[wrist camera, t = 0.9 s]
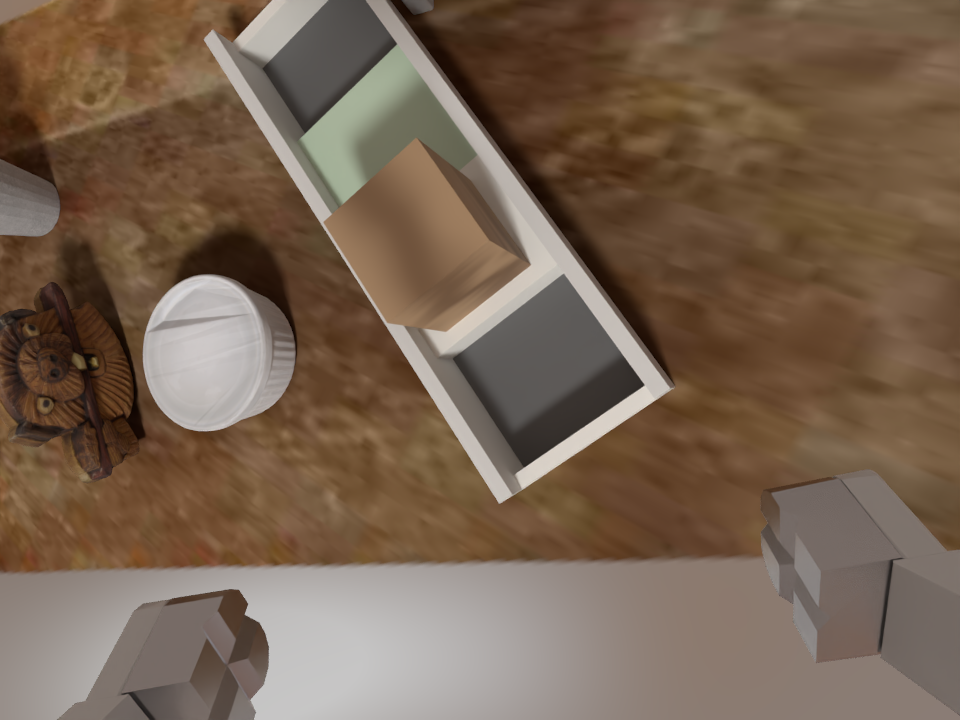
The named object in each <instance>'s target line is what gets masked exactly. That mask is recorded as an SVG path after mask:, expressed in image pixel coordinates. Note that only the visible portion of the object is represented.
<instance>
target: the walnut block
mask: <svg viewBox="0 0 960 720" xmlns="http://www.w3.org/2000/svg"><path fill="white" fill-rule="evenodd" d="M323 223H324V224H325V226H326V228H327V229H328V231H329V232H330V234H331V235H332V237H333V239H334V240H335V242H336V243H337V245H338V246H339V248H340V250H341V251H342V253H343V254H344V256H345V257H346V259H347V260H348V262H349V264H350V265H351V267H352V268H353V270H354V271H355V273H356V275H357V276H358V278H359V279H360V281H361V282H362V284H363V286H364V287H365V289H366V290H367V292H368V293H369V295H370V297H371V298H372V300H373V301H374V303H375V304H376V306H377V307H378V309H379V311H380V312H381V314H382V315H383V317H384V318H385V320H386V322H387V323H390V324H396V325H403V326H410V327H416V328H423V329H430V330H436V331H443V332H447V331H448V330H449V329H451V328H452V327H453V326H454V325H456V324H457V323H458V322H459V321H461V320H462V319H463V318H465V317H466V316H467V315H468V314H470V313H471V312H472V311H473V310H475V309H476V308H477V307H479V306H480V305H481V304H482V303H484V302H485V301H486V300H487V299H489V298H490V297H491V296H493V295H494V294H495V293H496V292H498V291H499V290H500V289H501V288H503V287H504V286H505V285H506V284H508V283H509V282H510V281H512V280H513V279H514V278H515V277H517V276H518V275H519V274H520V273H522V272H523V271H524V270H526V269H527V268H528V267H529V266H531V264H530V263H529V261H528V260H527V259H526V257H525V256H524V254H523V253H522V252H521V250H520V249H519V247H518V246H517V245H516V243H515V242H514V240H513V239H512V238H511V236H510V235H509V233H508V232H507V231H506V229H505V228H504V226H503V225H502V224H501V222H500V221H499V219H498V218H497V217H496V215H495V214H494V212H493V211H492V210H491V208H490V207H489V205H488V204H487V203H486V201H485V200H484V198H483V197H482V196H481V194H480V193H479V191H478V190H477V189H476V187H475V186H474V184H473V183H472V182H471V180H470V179H469V178H467V177H466V176H465V175H463V174H462V173H461V172H460V171H458V170H457V169H456V168H455V167H453V166H452V165H451V164H450V163H448V162H447V161H446V160H445V159H443V158H442V157H441V156H440V155H438V154H437V153H436V152H434V151H433V150H432V149H431V148H429V147H428V146H427V145H426V144H424V143H423V142H422V141H421V140H419V139H418V138H417V137H416V138H415V139H414V140H413V141H412V142H411V143H410V144H409V145H408V146H406V147H405V148H404V149H403V150H402V151H401V152H400V153H399V154H398V155H396V156H395V157H394V158H393V159H392V160H391V161H390V162H389V163H388V164H387V165H385V166H384V167H383V168H382V169H381V170H380V171H379V172H378V173H377V174H376V175H374V176H373V177H372V178H371V179H370V180H369V181H368V182H367V183H366V184H365V185H363V186H362V187H361V188H360V189H359V190H358V191H357V192H356V193H355V194H354V195H352V196H351V197H350V198H349V199H348V200H347V201H346V202H345V203H344V204H343V205H341V206H340V207H339V208H338V209H337V210H336V211H335V212H334V213H333V214H332V215H330V216H329V217H328V218H327V219H326V220H325V221H324V222H323Z"/></svg>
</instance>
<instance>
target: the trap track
mask: <svg viewBox="0 0 960 720" xmlns="http://www.w3.org/2000/svg"><path fill="white" fill-rule="evenodd" d="M204 41H205V42H206V44H207V45H208V47H209V49H210V50H211V52H212V53H213V55H214V56H215V58H216V60H217V61H218V63H219V64H220V66H221V67H222V69H223V71H224V72H225V74H226V75H227V77H228V78H229V80H230V82H231V83H232V85H233V86H234V88H235V89H236V91H237V92H238V94H239V96H240V97H241V99H242V100H243V102H244V103H245V105H246V107H247V108H248V110H249V111H250V113H251V114H252V116H253V118H254V119H255V121H256V122H257V124H258V125H259V127H260V129H261V130H262V132H263V133H264V135H265V136H266V138H267V140H268V141H269V143H270V144H271V146H272V147H273V149H274V151H275V152H276V154H277V155H278V157H279V158H280V160H281V162H282V163H283V165H284V166H285V168H286V169H287V171H288V173H289V174H290V176H291V177H292V179H293V180H294V182H295V184H296V185H297V187H298V188H299V190H300V191H301V193H302V195H303V196H304V198H305V199H306V201H307V202H308V204H309V206H310V207H311V209H312V210H313V212H314V213H315V215H316V217H317V218H318V220H319V221H320V223H321V224H322V226H323V228H324V229H325V231H326V232H327V234H328V235H329V237H330V239H331V240H332V242H333V243H334V245H335V246H336V248H337V250H338V251H339V253H340V254H341V256H342V257H343V259H344V261H345V262H346V264H347V265H348V267H349V268H350V270H351V271H352V273H353V275H354V276H355V278H356V279H357V281H358V282H359V284H360V286H361V287H362V289H363V290H364V292H365V293H366V295H367V297H368V298H369V300H370V301H371V303H372V304H373V306H374V308H375V309H376V311H377V312H378V314H379V315H380V317H381V319H382V320H383V322H384V323H385V325H386V326H387V328H388V330H389V331H390V333H391V334H392V336H393V337H394V339H395V341H396V342H397V344H398V345H399V347H400V348H401V350H402V352H403V353H404V355H405V356H406V358H407V359H408V361H409V363H410V364H411V366H412V367H413V369H414V370H415V372H416V374H417V375H418V377H419V378H420V380H421V381H422V383H423V385H424V386H425V388H426V389H427V391H428V392H429V394H430V396H431V397H432V399H433V400H434V402H435V403H436V405H437V407H438V408H439V410H440V411H441V413H442V414H443V416H444V418H445V419H446V421H447V422H448V424H449V425H450V427H451V429H452V430H453V432H454V433H455V435H456V436H457V438H458V440H459V441H460V443H461V444H462V446H463V447H464V449H465V450H466V452H467V454H468V455H469V457H470V458H471V460H472V461H473V463H474V465H475V466H476V468H477V469H478V471H479V472H480V474H481V476H482V477H483V479H484V480H485V482H486V483H487V485H488V487H489V488H490V490H491V491H492V493H493V494H494V496H495V498H496V499H497V501H498V502H499V504H500V503H501V502H503V501H505V500H506V499H508V498H510V497H511V496H513V495H514V494H516V493H518V492H519V491H521V490H523V489H524V488H526V487H527V486H529V485H530V484H532V483H533V482H535V481H536V480H538V479H539V478H540V477H542V476H543V475H545V474H546V473H548V472H549V471H551V470H552V469H554V468H555V467H557V466H558V465H560V464H561V463H563V462H564V461H566V460H567V459H569V458H570V457H572V456H573V455H575V454H576V453H578V452H579V451H581V450H582V449H584V448H585V447H587V446H588V445H590V444H591V443H593V442H594V441H596V440H597V439H599V438H600V437H602V436H603V435H605V434H606V433H608V432H609V431H611V430H612V429H614V428H615V427H616V426H618V425H619V424H621V423H622V422H624V421H625V420H627V419H628V418H630V417H631V416H633V415H634V414H636V413H637V412H639V411H640V410H642V409H643V408H645V407H646V406H648V405H649V404H651V403H652V402H654V401H655V400H657V399H658V398H660V397H661V396H663V395H664V394H666V393H667V392H669V391H670V390H672V389H673V388H675V385H674V384H673V383H672V381H671V380H670V379H669V377H668V376H667V375H666V373H665V372H664V370H663V369H662V368H661V366H660V365H659V364H658V362H657V361H656V360H655V358H654V357H653V356H652V354H651V353H650V352H649V350H648V349H647V347H646V346H645V345H644V343H643V342H642V341H641V339H640V338H639V337H638V335H637V334H636V333H635V331H634V330H633V328H632V327H631V326H630V324H629V323H628V322H627V320H626V319H625V318H624V316H623V315H622V314H621V312H620V311H619V309H618V308H617V307H616V305H615V304H614V303H613V301H612V300H611V299H610V297H609V296H608V295H607V293H606V292H605V290H604V289H603V288H602V286H601V285H600V284H599V282H598V281H597V280H596V278H595V277H594V276H593V274H592V273H591V271H590V270H589V269H588V267H587V266H586V265H585V263H584V262H583V261H582V259H581V258H580V257H579V255H578V254H577V252H576V251H575V250H574V248H573V247H572V246H571V244H570V243H569V242H568V240H567V239H566V238H565V236H564V235H563V234H562V232H561V231H560V229H559V228H558V227H557V225H556V224H555V223H554V221H553V220H552V219H551V217H550V216H549V215H548V213H547V212H546V210H545V209H544V208H543V206H542V205H541V204H540V202H539V201H538V200H537V198H536V197H535V196H534V194H533V193H532V191H531V190H530V189H529V187H528V186H527V185H526V183H525V182H524V181H523V179H522V178H521V177H520V175H519V174H518V172H517V171H516V170H515V168H514V167H513V166H512V164H511V163H510V162H509V160H508V159H507V158H506V156H505V155H504V153H503V152H502V151H501V149H500V148H499V147H498V145H497V144H496V143H495V141H494V140H493V139H492V137H491V136H490V134H489V133H488V132H487V130H486V129H485V128H484V126H483V125H482V124H481V122H480V121H479V120H478V118H477V117H476V116H475V114H474V113H473V111H472V110H471V109H470V107H469V106H468V105H467V103H466V102H465V101H464V99H463V98H462V97H461V95H460V94H459V92H458V91H457V90H456V88H455V87H454V86H453V84H452V83H451V82H450V80H449V79H448V78H447V76H446V75H445V73H444V72H443V71H442V69H441V68H440V67H439V65H438V64H437V63H436V61H435V60H434V59H433V57H432V56H431V54H430V53H429V52H428V50H427V49H426V48H425V46H424V45H423V44H422V42H421V41H420V40H419V38H418V37H417V35H416V34H415V33H414V31H413V30H412V29H411V27H410V26H409V25H408V23H407V22H406V21H405V19H404V18H403V16H402V15H401V14H400V12H399V11H398V10H397V8H396V7H395V6H394V4H393V3H392V2H391V0H272V1H271V2H270V3H269V4H268V5H267V6H266V7H265V8H264V9H263V11H262V12H261V13H260V14H259V15H258V16H257V17H256V18H255V19H254V20H253V21H252V22H251V23H250V24H249V26H248V27H247V28H246V29H245V30H244V31H243V32H242V33H241V34H240V35H239V36H238V37H237V38H236V39H235V41H234V42H233V43H232V42H230V41H229V40H227V39H226V38H225V37H223V36H222V35H220V34H219V33H217V32H216V31H214V30H212V31H211V32H210V33H209V34H208V35H207V36H206V37H205V39H204ZM416 137H417V138H418V139H419V140H421V141H422V142H423V143H424V144H426V145H427V146H428V147H429V148H431V149H432V150H433V151H434V152H436V153H437V154H438V155H440V156H441V157H442V158H443V159H445V160H446V161H447V162H448V163H450V164H451V165H452V166H453V167H455V168H456V169H457V170H458V171H460V172H461V173H462V174H463V175H465V176H466V177H467V178H469V179H470V180H471V182H472V183H473V184H474V186H475V187H476V189H477V190H478V191H479V193H480V194H481V196H482V197H483V198H484V200H485V201H486V203H487V204H488V205H489V207H490V208H491V210H492V211H493V212H494V214H495V215H496V217H497V218H498V219H499V221H500V222H501V224H502V225H503V226H504V228H505V229H506V231H507V232H508V233H509V235H510V236H511V238H512V239H513V240H514V242H515V243H516V245H517V246H518V247H519V249H520V250H521V252H522V253H523V254H524V256H525V257H526V259H527V260H528V261H529V263H530V264H531V266H529V267H528V268H527V269H526V270H524V271H523V272H522V273H520V274H519V275H518V276H517V277H515V278H514V279H513V280H512V281H510V282H509V283H508V284H506V285H505V286H504V287H503V288H501V289H500V290H499V291H498V292H496V293H495V294H494V295H493V296H491V297H490V298H489V299H487V300H486V301H485V302H484V303H482V304H481V305H480V306H479V307H477V308H476V309H475V310H473V311H472V312H471V313H470V314H468V315H467V316H466V317H465V318H463V319H462V320H461V321H459V322H458V323H457V324H456V325H454V326H453V327H452V328H451V329H449V330H448V331H447V332H443V331H436V330H430V329H423V328H416V327H410V326H403V325H396V324H390V323H387V322H386V320H385V318H384V317H383V315H382V314H381V312H380V311H379V309H378V307H377V306H376V304H375V303H374V301H373V300H372V298H371V297H370V295H369V293H368V292H367V290H366V289H365V287H364V286H363V284H362V282H361V281H360V279H359V278H358V276H357V275H356V273H355V271H354V270H353V268H352V267H351V265H350V264H349V262H348V260H347V259H346V257H345V256H344V254H343V253H342V251H341V250H340V248H339V246H338V245H337V243H336V242H335V240H334V239H333V237H332V235H331V234H330V232H329V231H328V229H327V228H326V226H325V224H324V223H323V222H324V221H325V220H326V219H327V218H328V217H329V216H330V215H332V214H333V213H334V212H335V211H336V210H337V209H338V208H339V207H340V206H341V205H343V204H344V203H345V202H346V201H347V200H348V199H349V198H350V197H351V196H352V195H354V194H355V193H356V192H357V191H358V190H359V189H360V188H361V187H362V186H363V185H365V184H366V183H367V182H368V181H369V180H370V179H371V178H372V177H373V176H374V175H376V174H377V173H378V172H379V171H380V170H381V169H382V168H383V167H384V166H385V165H387V164H388V163H389V162H390V161H391V160H392V159H393V158H394V157H395V156H396V155H398V154H399V153H400V152H401V151H402V150H403V149H404V148H405V147H406V146H408V145H409V144H410V143H411V142H412V141H413V140H414V139H415V138H416Z"/></svg>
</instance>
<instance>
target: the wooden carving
mask: <svg viewBox="0 0 960 720" xmlns="http://www.w3.org/2000/svg"><path fill="white" fill-rule="evenodd" d="M34 305H35V308H36V312H35V311H32V310H27V309H18V310H14V311H9V312H7V313H5V314H3V315H1V316H0V418H1V420H2V421H3V422H4V423H5V424H6V425H7V427H8V428H9V429H10V432H9V434H8V440H9V441H10V442H12V443H18V444H21V445H25V446H30V447H39V446H41V445H42V444H44V443H46V442H47V441H49V440H50V439H51V438H54V437H58V436H62V447H63V451H64V455H65V459H66V461H67V464H68V466H69V468H70V469H71V471H72V472H74V473H75V474H76V475H77V476H78V477H79V479H80V480H81V481H82V482H84V483H91V482H95V481H98V480H100V479H103V478H106V477H108V476H110V475H111V473H112V468H113V467H115V466H116V465H118V464H120V463H122V462H123V461H124V460H126V459H127V458H130V457H132V456H134V455H136V454H138V452H139V444H138V440H137V438H136V436H135V434H134V432H133V431H132V429H131V428H130V426H129V424H128V423H127V422H126V419H127V418H128V417H129V415H130V413H131V408H132V405H133V399H134V392H133V378H132V374H131V370H130V366H129V363H128V361H127V357H126V355H125V352H123V348H122V346H121V344H120V341H119V340H118V338H117V336H116V335H115V332H114V331H113V330H112V328H111V327H110V325H109V324H108V323H107V322H106V320H105V319H104V318H103V316H102V315H101V314H100V313H99V312H98V310H97V309H96V308H95V307H94V306H93V305H92V304H90V303H88V302H85V303H84V304H82V305H80V306H78V307H76V308H74V309H70V310H69V305H68V301H67V299H66V297H65V295H64V293H63V291H62V289H61V288H60V287H59V286H58V285H57V284H56V283H54V282H50V283H48V284H47V285H46V286H45V287H43V288H40V289H39V291H38V292H37V293H36V295H35V298H34Z"/></svg>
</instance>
